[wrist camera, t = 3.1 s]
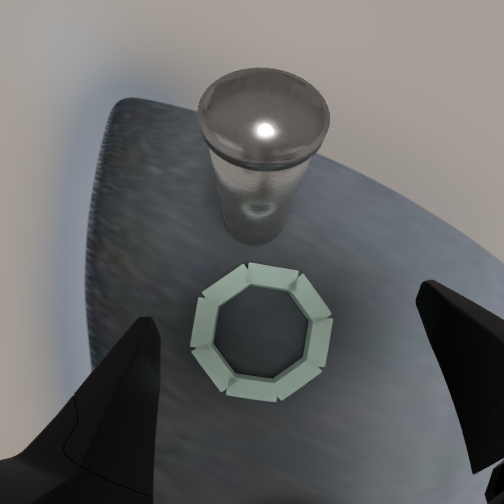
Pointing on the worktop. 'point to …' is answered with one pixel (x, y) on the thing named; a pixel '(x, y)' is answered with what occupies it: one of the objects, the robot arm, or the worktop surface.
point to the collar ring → (289, 377)
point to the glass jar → (260, 145)
